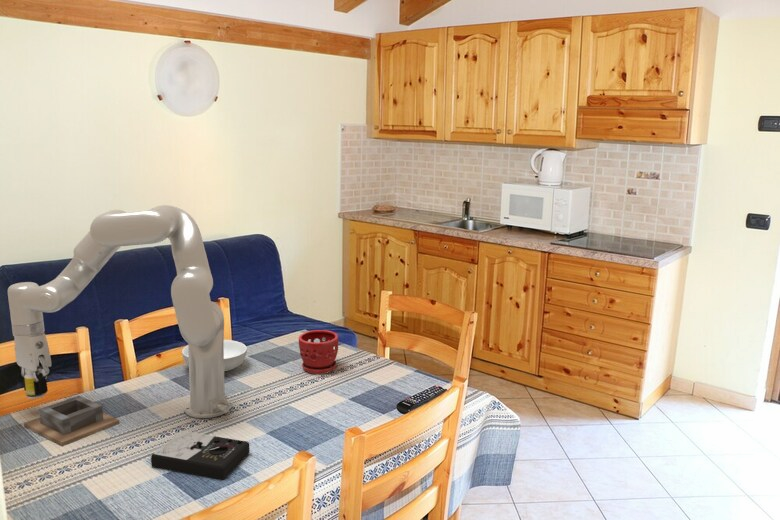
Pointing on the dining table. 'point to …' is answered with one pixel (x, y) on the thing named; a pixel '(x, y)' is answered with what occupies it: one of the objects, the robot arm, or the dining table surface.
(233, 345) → the serving bowl
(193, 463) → the multimeter
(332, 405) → the dining table surface
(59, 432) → the pocket board
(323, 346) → the plant pot
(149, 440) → the dining table surface
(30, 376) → the supplement bottle
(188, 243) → the robot arm
